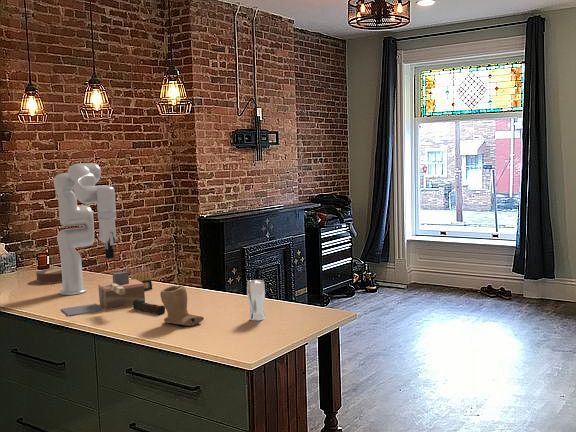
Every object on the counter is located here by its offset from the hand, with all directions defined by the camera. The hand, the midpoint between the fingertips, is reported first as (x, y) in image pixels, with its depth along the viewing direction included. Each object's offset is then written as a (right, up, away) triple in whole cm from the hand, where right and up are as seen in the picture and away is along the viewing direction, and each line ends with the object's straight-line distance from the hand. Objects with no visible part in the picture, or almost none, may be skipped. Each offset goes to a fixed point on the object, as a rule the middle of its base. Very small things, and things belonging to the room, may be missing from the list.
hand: (109, 258), depth 270 cm
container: (-51, -18, +76) cm, 93 cm away
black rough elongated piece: (+17, -23, -3) cm, 29 cm away
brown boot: (+35, -24, -25) cm, 49 cm away
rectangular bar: (+5, -14, -6) cm, 16 cm away
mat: (-13, -23, +4) cm, 27 cm away
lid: (+2, -15, +12) cm, 19 cm away
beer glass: (+64, -23, -22) cm, 72 cm away
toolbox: (+2, -22, +13) cm, 25 cm away
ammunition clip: (+5, -19, +39) cm, 44 cm away
